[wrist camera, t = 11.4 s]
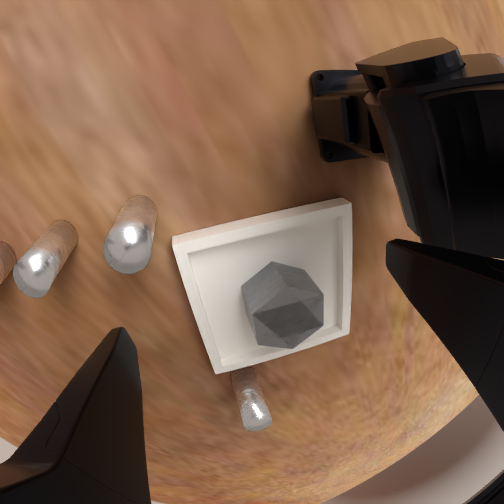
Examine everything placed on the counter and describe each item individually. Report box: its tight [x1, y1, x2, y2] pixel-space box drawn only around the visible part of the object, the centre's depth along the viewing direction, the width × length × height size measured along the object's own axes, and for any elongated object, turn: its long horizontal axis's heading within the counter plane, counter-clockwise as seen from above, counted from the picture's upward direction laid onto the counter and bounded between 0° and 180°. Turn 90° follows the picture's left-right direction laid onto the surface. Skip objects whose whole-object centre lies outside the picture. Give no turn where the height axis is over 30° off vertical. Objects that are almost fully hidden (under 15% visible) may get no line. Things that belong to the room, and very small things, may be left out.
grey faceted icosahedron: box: [241, 261, 324, 349], centre depth 22 cm, size 5×6×4 cm
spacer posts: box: [0, 195, 272, 431], centre depth 20 cm, size 18×20×6 cm
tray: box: [172, 197, 352, 374], centre depth 23 cm, size 13×13×2 cm
